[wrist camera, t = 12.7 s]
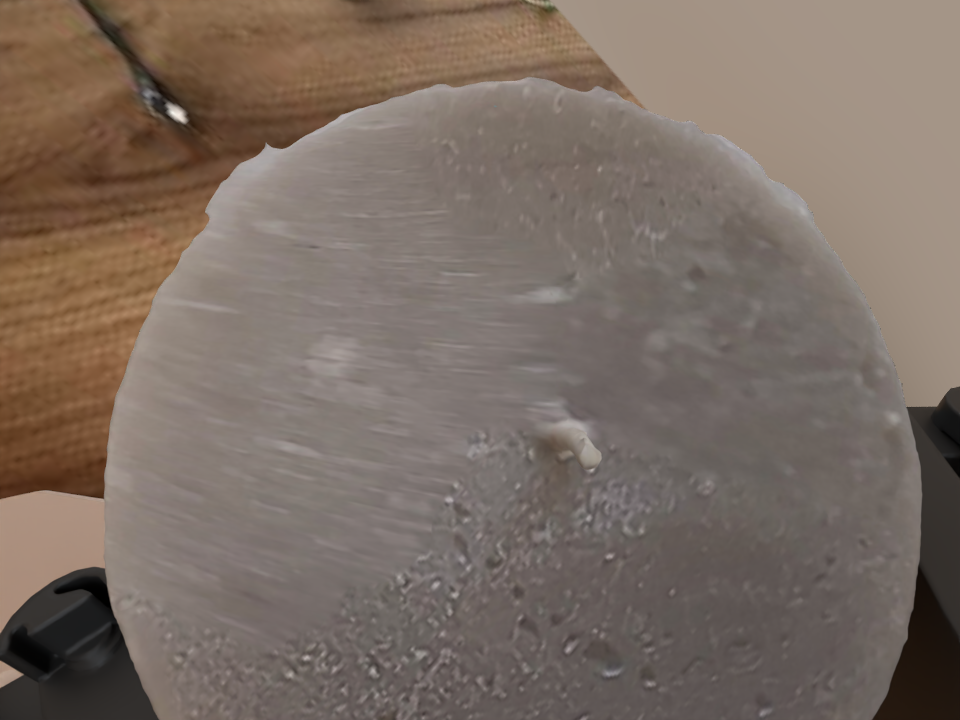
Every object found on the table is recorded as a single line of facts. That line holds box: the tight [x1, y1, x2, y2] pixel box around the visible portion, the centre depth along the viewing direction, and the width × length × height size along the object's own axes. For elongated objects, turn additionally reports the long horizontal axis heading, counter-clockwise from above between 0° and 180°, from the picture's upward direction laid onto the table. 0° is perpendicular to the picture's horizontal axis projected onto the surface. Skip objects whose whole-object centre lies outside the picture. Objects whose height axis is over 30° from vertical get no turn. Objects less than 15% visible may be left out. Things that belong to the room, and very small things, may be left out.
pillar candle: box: [103, 77, 923, 720], centre depth 11 cm, size 10×10×15 cm
